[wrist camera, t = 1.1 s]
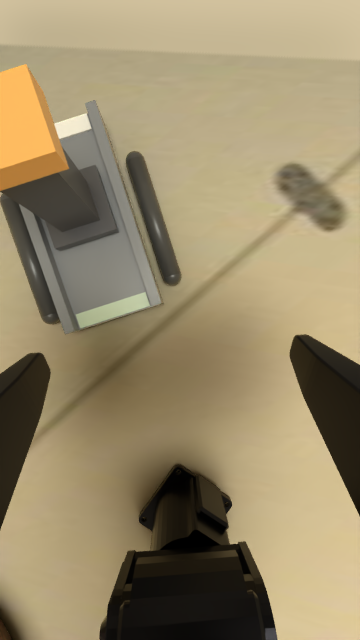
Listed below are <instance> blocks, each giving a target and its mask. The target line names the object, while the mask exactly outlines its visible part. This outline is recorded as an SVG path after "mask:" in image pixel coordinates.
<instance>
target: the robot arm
mask: <svg viewBox="0 0 360 640" xmlns="http://www.w3.org/2000/svg"><path fill="white" fill-rule="evenodd" d="M290 359H291V362H292V365H293V368H294V371H295V374H296V377H297V380H298V383H299V386H300V389H301V392H302V394H303V397H304V399H305V401H306V403H307V406H308V408H309V410H310V412H311V414H312V416H313V418H314V420H315V422H316V425H317V427H318V429H319V431H320V433H321V435H322V437H323V439H324V441H325V444H326V446H327V448H328V450H329V452H330V454H331V456H332V458H333V461H334V463H335V465H336V467H337V469H338V471H339V473H340V475H341V477H342V480H343V482H344V484H345V486H346V488H347V490H348V492H349V494H350V497H351V499H352V501H353V503H354V505H355V507H356V509H357V511H358V513H359V516H360V365H359V364H357V363H356V362H354V361H352V360H350V359H349V358H347V357H345V356H343V355H342V354H340V353H338V352H337V351H335V350H333V349H331V348H330V347H328V346H326V345H324V344H323V343H321V342H319V341H318V340H316V339H314V338H312V337H311V336H309V335H306V334H304V335H296V336H295V337H294V338H293V342H292V346H291V349H290ZM50 374H51V372H50V368H49V366H48V364H47V361H46V359H45V357H44V355H43V354H42V353H30V354H27V355H26V356H25V357H23V358H22V359H20V360H19V361H18V362H16V363H15V364H13V365H12V366H11V367H9V368H8V369H6V370H5V371H4V372H2V373H1V374H0V529H1V526H2V523H3V520H4V518H5V515H6V512H7V509H8V506H9V504H10V501H11V498H12V495H13V492H14V490H15V487H16V484H17V481H18V478H19V476H20V473H21V470H22V467H23V464H24V461H25V459H26V456H27V453H28V450H29V447H30V445H31V442H32V439H33V436H34V433H35V431H36V428H37V425H38V422H39V419H40V416H41V413H42V409H43V405H44V401H45V396H46V392H47V388H48V383H49V379H50ZM176 470H180V472H176ZM225 502H228V503H227V504H224V503H225ZM231 507H232V502H231V499H230V498H229V497H228V496H227V495H225V494H224V493H222V492H221V491H220V489H219V488H218V487H216V486H215V485H213V484H212V483H210V482H209V481H207V480H206V479H204V478H203V477H201V476H200V475H195V474H194V473H192V472H191V471H189V470H188V469H186V468H185V467H183V466H182V465H175V466H174V467H173V469H172V470H171V471H170V473H169V474H168V476H167V477H166V478H165V480H164V481H163V482H162V484H161V485H160V487H159V488H158V489H157V491H156V492H155V494H154V495H153V496H152V498H151V499H150V500H149V502H148V503H147V505H146V506H145V507H144V509H143V510H142V512H141V513H140V515H139V522H140V523H141V524H142V525H144V526H145V527H147V528H148V529H150V530H151V531H152V538H151V548H150V551H143V552H136V551H135V550H132V551H128V552H127V555H126V558H125V561H124V562H123V563H122V566H121V569H120V572H119V575H118V578H117V581H116V584H115V586H114V589H113V592H112V595H111V598H110V601H109V604H108V610H107V616H106V617H105V619H104V621H103V622H102V624H101V628H100V640H277V635H276V629H275V624H274V619H273V614H272V610H271V606H270V602H269V598H268V594H267V591H266V588H265V585H264V582H263V579H262V577H261V575H260V572H259V570H258V568H257V566H256V564H255V561H254V559H253V557H252V555H251V553H250V550H249V548H248V546H247V544H246V542H238V544H231V545H230V543H229V539H228V534H227V529H228V528H229V526H228V521H227V517H226V514H227V512H228V511H229V510H230V508H231ZM143 517H146V519H144V518H143Z"/></svg>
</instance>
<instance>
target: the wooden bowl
mask: <svg viewBox="0 0 360 640" xmlns="http://www.w3.org/2000/svg"><path fill="white" fill-rule="evenodd" d="M0 640H12V639H11V637H10V635H9V633H8V631H7V629H6V628H5V626H4V624H3V623H2V621H1V620H0Z"/></svg>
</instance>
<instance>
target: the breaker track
mask: <svg viewBox="0 0 360 640" xmlns="http://www.w3.org/2000/svg"><path fill="white" fill-rule="evenodd" d="M85 105H86V108H87V111H88V114H87V113H86V114H83V115H79V116H76V117H73V118H70V119H67V120H64V121H61V122H58V123H55V124H54V125H55V128H56V131H57V134H58V137H59V140H60V143H61V146H62V147H63V149H64V150H65V151H66V153H67V154H68V156H69V157H70V158H71V160H72V161H73V163H74V164H75V165H76V167H77V168H78V170H80V169H83V168H86V167H89V166H92V165H96V167H97V169H98V170H99V173H100V176H101V179H102V182H103V186H104V189H105V192H106V195H107V198H108V201H109V204H110V207H111V210H112V213H113V216H114V219H115V222H116V225H117V228H118V231H119V232H116V233H113V234H110V235H107V236H104V237H101V238H98V239H94V240H91V241H88V242H85V243H82V244H79V245H76V246H73V247H70V248H67V249H63V250H60V251H59V250H56V249H55V248H54V245H53V242H52V240H51V237H50V234H49V231H48V228H47V225H46V222H45V220H43V219H42V218H40V217H39V216H37V215H36V214H34V213H32V212H31V211H29V210H28V209H26V208H25V207H23V206H22V205H20V204H19V203H17V202H15V201H14V200H12V199H11V198H9V197H8V196H6V195H5V194H2V195H1V197H0V203H1V206H2V209H3V212H4V214H5V217H6V220H7V223H8V225H9V228H10V231H11V234H12V237H13V239H14V242H15V245H16V248H17V251H18V253H19V256H20V259H21V262H22V265H23V267H24V270H25V273H26V276H27V278H28V281H29V284H30V287H31V290H32V292H33V295H34V298H35V301H36V304H37V306H38V309H39V312H40V315H41V318H42V320H43V321H44V322H45V323H47V324H56V323H57V322H59V321H60V322H61V325H62V327H63V330H64V333H65V334H69V333H72V332H76V331H79V330H83V329H86V328H89V327H92V326H95V325H98V324H101V323H104V322H107V321H110V320H114V319H117V318H120V317H123V316H126V315H129V314H132V313H135V312H138V311H141V310H144V309H148V308H151V307H154V306H157V305H160V304H163V301H162V298H161V295H160V292H159V289H158V286H157V283H156V280H155V277H154V274H153V271H152V268H151V265H150V261H149V258H148V255H147V252H146V249H145V246H144V243H143V240H142V237H141V234H140V231H139V228H138V225H137V222H136V219H135V216H134V212H133V209H132V206H131V203H130V200H129V197H128V194H127V191H126V188H125V185H124V182H123V179H122V176H121V173H120V170H119V166H118V163H117V160H116V157H115V154H114V151H113V148H112V145H111V142H110V139H109V136H108V133H107V130H106V127H105V124H104V122H103V119H102V116H101V114H100V111H99V109H98V106H97V104H96V101H95V100H93V101H90V102H87V103H85ZM126 165H127V169H128V172H129V175H130V178H131V181H132V184H133V187H134V190H135V193H136V196H137V199H138V203H139V206H140V209H141V212H142V215H143V218H144V221H145V224H146V227H147V230H148V233H149V236H150V240H151V243H152V246H153V249H154V252H155V255H156V258H157V261H158V264H159V267H160V270H161V273H162V277H163V279H164V281H165V283H166V284H168V285H176V284H178V283H179V282H180V280H181V272H180V269H179V266H178V263H177V260H176V257H175V254H174V250H173V247H172V244H171V241H170V238H169V235H168V232H167V229H166V225H165V222H164V219H163V216H162V213H161V210H160V207H159V203H158V200H157V197H156V194H155V191H154V188H153V185H152V182H151V178H150V175H149V172H148V169H147V166H146V163H145V160H144V157H143V156H142V154H141V153H139V152H137V151H132V152H130V153H129V154H128V155H127V157H126Z"/></svg>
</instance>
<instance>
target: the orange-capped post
mask: <svg viewBox="0 0 360 640" xmlns="http://www.w3.org/2000/svg"><path fill="white" fill-rule="evenodd" d="M0 192H2V193H3V194H5V195H6V196H8V197H9V198H11V199H12V200H14V201H15V202H17V203H19V204H20V205H22V206H23V207H25V208H26V209H28V210H29V211H31V212H32V213H34V214H36V215H37V216H39V217H40V218H42V219H43V220H45V222H46V225H47V228H48V231H49V234H50V237H51V240H52V242H53V245H54V248H55V249H56V250H59V251H60V250H63V249H67V248H70V247H73V246H76V245H79V244H82V243H85V242H88V241H91V240H94V239H98V238H101V237H104V236H107V235H110V234H113V233H116V232H119V231H118V228H117V225H116V222H115V219H114V216H113V213H112V210H111V207H110V204H109V201H108V198H107V195H106V192H105V189H104V186H103V182H102V179H101V176H100V173H99V170H98V169H97V167H96V165H92V166H89V167H86V168H83V169H80V170H78V168H77V167H76V165H75V164H74V163H73V161H72V160H71V158H70V157H69V156H68V154H67V153H66V151H65V150H64V149H63V147H62V146H61V143H60V140H59V137H58V134H57V131H56V128H55V125H54V122H53V119H52V116H51V113H50V110H49V107H48V104H47V102H46V99H45V96H44V93H43V91H42V89H41V88H40V86H39V84H38V83H37V81H36V79H35V78H34V76H33V75H32V73H31V71H30V70H29V68H28V66H27V65H26V64H25V65H22V66H18V67H15V68H12V69H9V70H6V71H3V72H0Z"/></svg>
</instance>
